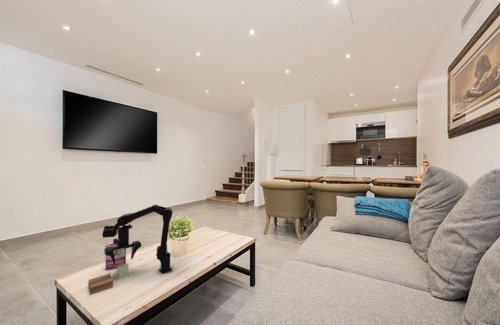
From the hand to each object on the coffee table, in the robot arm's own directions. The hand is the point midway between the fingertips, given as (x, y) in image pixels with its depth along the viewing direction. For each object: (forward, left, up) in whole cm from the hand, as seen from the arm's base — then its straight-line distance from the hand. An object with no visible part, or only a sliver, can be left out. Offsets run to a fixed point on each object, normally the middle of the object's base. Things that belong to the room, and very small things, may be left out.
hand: (123, 261), depth 126 cm
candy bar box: (+16, +1, -9) cm, 18 cm away
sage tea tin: (0, 0, -9) cm, 9 cm away
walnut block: (-4, +12, -9) cm, 15 cm away
